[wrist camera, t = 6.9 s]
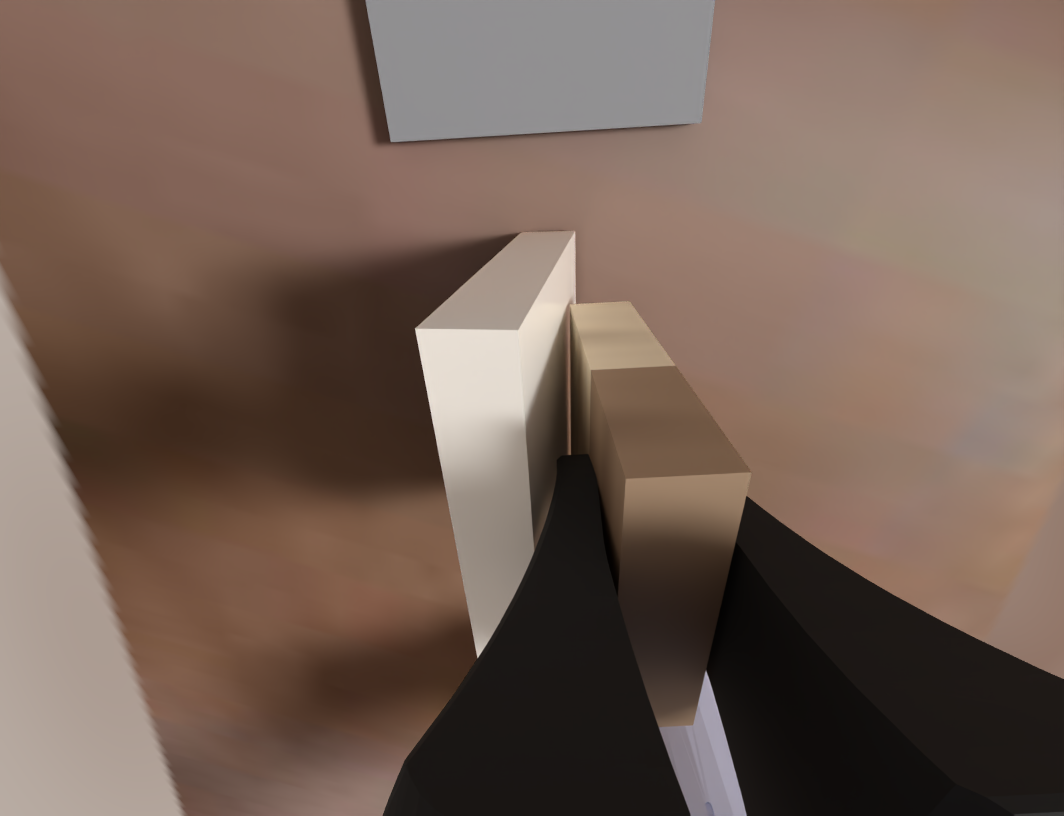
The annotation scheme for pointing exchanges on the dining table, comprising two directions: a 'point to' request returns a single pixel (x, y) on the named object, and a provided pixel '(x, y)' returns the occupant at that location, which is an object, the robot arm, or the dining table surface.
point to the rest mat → (538, 65)
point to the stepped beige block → (656, 497)
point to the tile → (502, 410)
